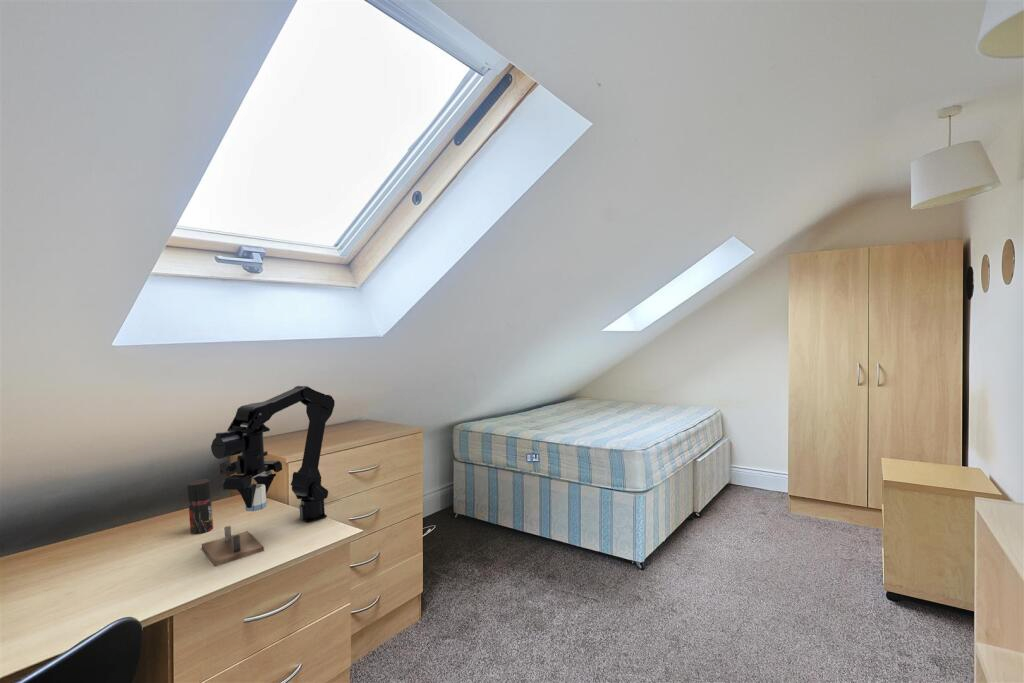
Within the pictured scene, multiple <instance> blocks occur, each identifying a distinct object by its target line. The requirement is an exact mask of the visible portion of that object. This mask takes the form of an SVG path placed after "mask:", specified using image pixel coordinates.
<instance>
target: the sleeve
mask: <svg viewBox="0 0 1024 683" xmlns="http://www.w3.org/2000/svg"><path fill="white" fill-rule="evenodd" d="M256 484H257V483H256ZM265 508H267V494H266V488H265V485H264V484H257V485H256V490H255V494H254V499H253V504H252V507H251V508H247V506H246V504H245V503H244V509H245V511H246V512H256V511H261V510H264V509H265Z"/></svg>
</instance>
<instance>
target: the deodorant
mask: <svg viewBox="0 0 1024 683" xmlns="http://www.w3.org/2000/svg"><path fill="white" fill-rule="evenodd" d="M210 481H211V480H210V478H209V479H208V478H200V479H195V480H191V481H189V482H187V484H186V485H187V488H186V489H187V501H188V512H189V513H188V514H189V515H188V516H189V528H190V534H191V535H202V534H206V533H208V532H210V531H212V530H214V520H213V508H212V493H211V482H210Z"/></svg>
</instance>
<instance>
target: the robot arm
mask: <svg viewBox="0 0 1024 683" xmlns="http://www.w3.org/2000/svg"><path fill="white" fill-rule="evenodd" d="M335 402H336V401H335V399H334V398H333V396H332V395H330V394H325V393H322V392H320V391H318V390H314V389H313V388H311V387H310V386H306V385H297V386H294V387H293V388H291V389H289V390H287V391H284V392H282V393H281V394H278V395H276V396H273V397H271V398H269V399H266V400H265V401H261V402H260V401H259V402H252V403H248V404H245V405H241V406H240V407H238V408H237V409H236V410H237V411H236V413H235V416H234V417H233V420H232V421H231V423H230V424H229V426H228V428H227V431H222V432H217V433H215V438H214V439H213V440H212V442H211V445H210V449H211V450H210V451H211V453H212V455H213V457H214V458H216V459H217V460H220V459H224V458H228V457H232V456H235V455H237V460H236V461H233V462H230V461H228V460H227V461H225V462H221V463H219V473H220V475H222V476H223V475H224V476H225V478H224V480H223V481H222V490H230V491H231V490H234V491H235V490H236V491H238V493H239V494H240V495H241V498H242V500H243V502H244V505H245V504H246V506H247V508H251V507H252V504H253V499H254V494H255V490H256V485H257V484H264V485H265V488H266V495H267V494H268V491H269V489H270V487H271V485H272V483H273V482H274V479H275V477H276V476H277V473H279V472H281V471H283V463H281V461H280V460H265V456H268V451H265V445H264V433H266V432H270V431H271V428H270V427H268V426H266V425H265V424H266V423H267V422H268V421H269V420H271V419H272V417H273V416H274V415H275V414H277V413H279V412H281V411H283V410H285V409H287V408H289V407H291V406H293V405H295V404H297V403H300V404H302V405H304V406H306V408H305V409H306V411H305V412H306V416H307V419H308V421H309V422H308V426H307V427H308V428H307V432H306V433H307V434H306V439H305V447H304V450H303V455H302V456H303V457H302V461H301V462H302V463H301V466H300V468H299V470H297V471H293V473H292V480H291V482H290V486H291V491H292V492H293V494H294V495H295V497H296V499H298V500H300V504H299V507H298V508H299V518H300V519H301V520H302V521H304V522H305V523H310V522H311V523H312V522H315V521H318V520H321V519H324V518H327V517H328V514H326V513H325V499H328V495H329V490H328V489H327V488H326V487H324V486H323V485H322V476H321V473H320V470H319V464H320V459H321V453H322V447H323V446H322V445H323V441H324V440H323V439H324V434H325V427H326V423H327V421H328V420H329V419H330V417H332V415H333V412H334V407H335ZM272 471H274V473H273V472H272ZM253 480H254V481H255V482H256V483H253Z"/></svg>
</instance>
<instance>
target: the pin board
mask: <svg viewBox="0 0 1024 683" xmlns="http://www.w3.org/2000/svg"><path fill="white" fill-rule="evenodd" d="M231 527H232V526H231V525H227V526H226V525H225V526H224V537H221V538H218V539H215V540H211V541H208V542H203V543H201V549H202V551H203V552H204V553H205V555H206V556H207V558H208V559H209V560H210V561H211V562H212V564H213V566H214V567H217V566H220V565H223V564H226V563H229V562H232V561H236V560H238V559H242V558H245V557H247V556H248V557H249V556H252V555H254V554H258V553H261V552H264V551H265V548H264V545H263V544H262V543H261V542H260V541H259V540H258V539H257V538H256V537H255V536H253V534H252V533H250V532H249V531H248V530H246V531H241V532H239V533H238V532H237V533H235V534H232V528H231Z"/></svg>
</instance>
